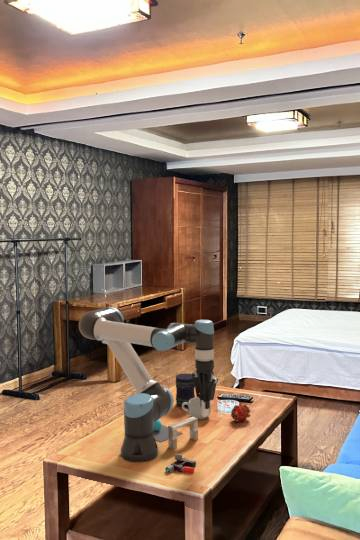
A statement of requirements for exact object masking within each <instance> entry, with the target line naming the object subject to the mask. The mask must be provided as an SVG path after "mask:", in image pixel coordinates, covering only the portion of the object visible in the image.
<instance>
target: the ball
mask: <svg viewBox="0 0 360 540" xmlns="http://www.w3.org/2000/svg"><path fill="white" fill-rule="evenodd" d="M161 427H162V421H161V420H160V419H158V420H157V421H155V422H154V423H153V431H159V430H160V429H161Z"/></svg>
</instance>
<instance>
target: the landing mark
mask: <svg viewBox="0 0 360 540" xmlns="http://www.w3.org/2000/svg"><path fill="white" fill-rule="evenodd" d="M182 434H183V432H181V431H179V430H177V437H178V436H179V435H182ZM153 435H154V438H155V441H156V442H160V443H162V442H164V441H168V426H166V425H162V427H161V429H160V430H159V431H153Z"/></svg>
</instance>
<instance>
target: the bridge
mask: <svg viewBox="0 0 360 540" xmlns="http://www.w3.org/2000/svg"><path fill="white" fill-rule="evenodd" d="M188 425H189V439H191V440H193V441H196V440H198V439H199V419H198V418H195V417H192V416H191V417H188V418H186V419H182V420H180V421H177V422H174V423H172V424H169V425H168V426H167V427H168V439H167V441H168V442H167V443H168V448H170V449H172V450H175V449H177V447H178V436H177V431H178V430H179V429H181V428H184V427H186V426H188Z"/></svg>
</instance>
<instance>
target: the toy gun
mask: <svg viewBox="0 0 360 540" xmlns="http://www.w3.org/2000/svg"><path fill="white" fill-rule="evenodd" d="M174 460H175V461H173V462H172V463H170V465H167V466H166V467H165V469H164V470H165V473H168V472H169V474H171V473H172V472H174V471H176V472H178V473H182V472H183V473H187V474H193V473H194V472H195V467H196V465H197V462H196V460H192V459H191V460H190V459H187V458H186V457H183V455H182V454H180V453H175V454H174Z"/></svg>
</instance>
